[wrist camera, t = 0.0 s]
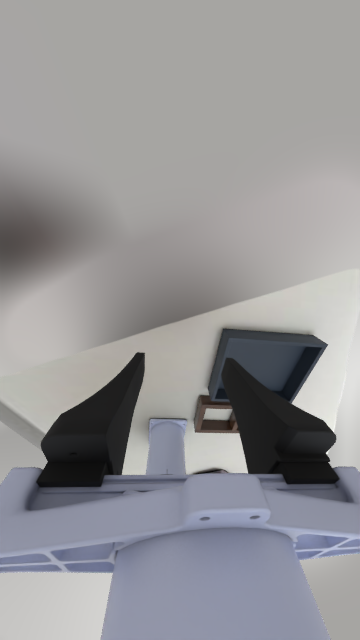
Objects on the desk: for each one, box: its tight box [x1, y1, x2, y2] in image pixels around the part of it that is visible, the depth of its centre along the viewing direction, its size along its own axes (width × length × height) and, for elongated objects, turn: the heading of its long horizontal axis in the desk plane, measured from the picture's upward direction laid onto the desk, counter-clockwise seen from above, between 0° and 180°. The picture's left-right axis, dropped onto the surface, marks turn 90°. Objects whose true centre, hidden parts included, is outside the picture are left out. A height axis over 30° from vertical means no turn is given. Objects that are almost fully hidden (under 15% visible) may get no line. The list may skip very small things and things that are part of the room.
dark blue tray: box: [208, 329, 328, 403], centre depth 26 cm, size 13×15×3 cm
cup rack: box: [194, 396, 239, 433], centre depth 32 cm, size 9×17×2 cm, turn 84°
